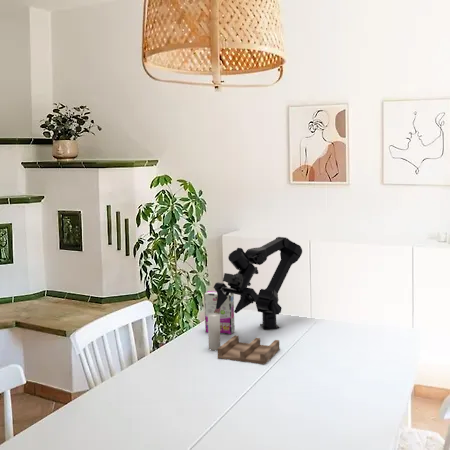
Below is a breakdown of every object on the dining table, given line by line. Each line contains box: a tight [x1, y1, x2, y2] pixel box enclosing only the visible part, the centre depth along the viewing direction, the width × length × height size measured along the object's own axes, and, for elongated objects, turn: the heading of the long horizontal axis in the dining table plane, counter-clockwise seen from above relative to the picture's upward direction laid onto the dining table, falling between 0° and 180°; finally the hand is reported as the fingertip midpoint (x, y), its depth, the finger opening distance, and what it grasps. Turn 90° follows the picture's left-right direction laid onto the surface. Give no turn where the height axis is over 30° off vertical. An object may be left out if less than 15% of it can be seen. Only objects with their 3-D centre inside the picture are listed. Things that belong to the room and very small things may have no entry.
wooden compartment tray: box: [217, 335, 281, 365], centre depth 219 cm, size 16×18×4 cm
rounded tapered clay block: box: [207, 313, 222, 351], centre depth 225 cm, size 4×4×13 cm
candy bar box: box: [203, 290, 236, 335], centre depth 245 cm, size 11×5×16 cm, turn 73°
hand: (225, 310), depth 229 cm, fingers open, 9 cm apart
